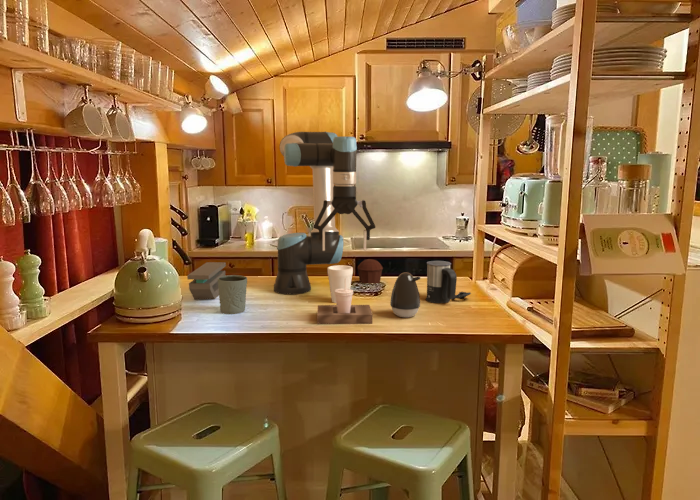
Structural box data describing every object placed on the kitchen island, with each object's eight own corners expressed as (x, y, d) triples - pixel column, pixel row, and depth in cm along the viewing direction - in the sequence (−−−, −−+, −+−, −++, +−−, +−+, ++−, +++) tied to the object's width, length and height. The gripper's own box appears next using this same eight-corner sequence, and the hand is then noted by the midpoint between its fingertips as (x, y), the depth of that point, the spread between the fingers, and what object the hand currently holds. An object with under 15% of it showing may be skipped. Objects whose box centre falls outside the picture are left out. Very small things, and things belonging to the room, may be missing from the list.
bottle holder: (317, 324, 169) (317, 315, 168) (317, 313, 181) (317, 305, 180) (372, 323, 170) (372, 314, 169) (369, 313, 182) (369, 304, 181)
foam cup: (356, 299, 199) (356, 266, 197) (346, 305, 191) (346, 271, 188) (334, 297, 203) (334, 264, 201) (323, 302, 195) (323, 268, 192)
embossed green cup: (216, 308, 186) (215, 276, 184) (244, 305, 190) (243, 273, 188) (221, 316, 177) (220, 282, 175) (250, 313, 181) (249, 279, 179)
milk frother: (420, 300, 199) (421, 262, 196) (444, 293, 210) (445, 257, 207) (452, 307, 189) (453, 268, 186) (475, 299, 200) (476, 262, 198)
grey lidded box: (207, 287, 217) (206, 262, 215) (226, 287, 217) (225, 262, 215) (188, 303, 192) (187, 275, 191) (209, 304, 192) (208, 275, 190)
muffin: (355, 279, 233) (356, 257, 232) (380, 278, 235) (380, 257, 233) (359, 285, 222) (359, 262, 220) (384, 285, 223) (385, 262, 221)
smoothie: (351, 321, 171) (351, 280, 169) (332, 320, 173) (332, 279, 170) (354, 316, 178) (355, 276, 175) (336, 315, 179) (336, 275, 177)
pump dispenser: (412, 321, 172) (413, 277, 170) (384, 316, 178) (385, 273, 175) (425, 314, 181) (426, 271, 178) (398, 309, 186) (399, 268, 183)
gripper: (305, 185, 163) (306, 251, 167) (384, 186, 165) (383, 251, 168) (306, 184, 171) (306, 247, 174) (381, 184, 172) (380, 247, 176)
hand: (344, 249), depth 171 cm, fingers open, 13 cm apart
